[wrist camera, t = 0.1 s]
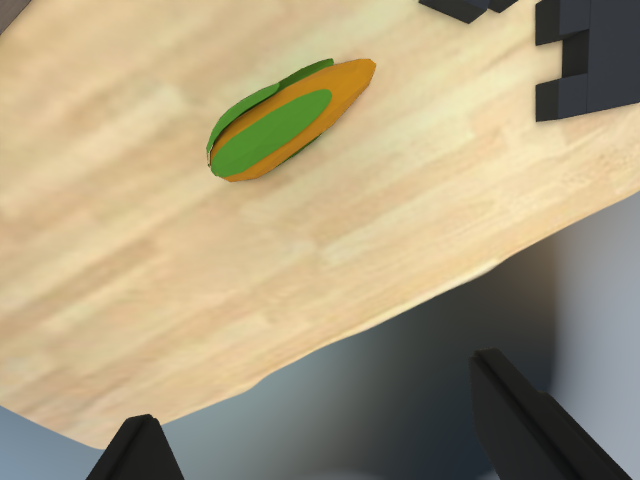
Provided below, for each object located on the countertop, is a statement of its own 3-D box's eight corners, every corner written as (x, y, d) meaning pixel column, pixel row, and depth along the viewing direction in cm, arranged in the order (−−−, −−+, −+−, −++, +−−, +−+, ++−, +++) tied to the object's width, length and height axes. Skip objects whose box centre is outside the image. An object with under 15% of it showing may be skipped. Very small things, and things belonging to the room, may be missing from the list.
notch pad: (535, 4, 34) (560, -12, 30) (648, -21, 33) (686, -40, 30) (535, 121, 37) (558, 119, 34) (638, 100, 37) (671, 95, 34)
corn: (174, 139, 29) (363, 6, 26) (198, 136, 36) (349, 31, 34) (225, 205, 31) (402, 89, 29) (238, 190, 39) (381, 96, 36)
